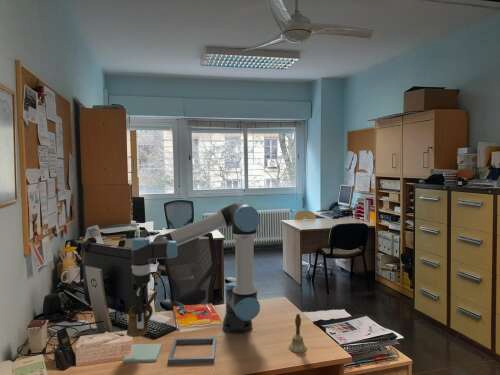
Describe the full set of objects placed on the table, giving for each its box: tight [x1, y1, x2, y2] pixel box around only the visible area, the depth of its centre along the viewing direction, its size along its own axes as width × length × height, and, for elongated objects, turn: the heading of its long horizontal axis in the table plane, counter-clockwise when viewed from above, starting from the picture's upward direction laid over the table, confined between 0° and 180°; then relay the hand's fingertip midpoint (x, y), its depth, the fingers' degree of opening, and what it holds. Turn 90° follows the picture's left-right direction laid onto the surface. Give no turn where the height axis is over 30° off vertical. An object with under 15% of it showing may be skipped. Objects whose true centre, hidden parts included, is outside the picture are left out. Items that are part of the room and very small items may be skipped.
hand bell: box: [288, 313, 307, 354], centre depth 176 cm, size 8×8×16 cm
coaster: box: [122, 343, 163, 363], centre depth 173 cm, size 14×14×1 cm
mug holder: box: [167, 337, 217, 365], centre depth 174 cm, size 19×19×2 cm
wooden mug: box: [126, 290, 158, 338], centre depth 172 cm, size 9×14×18 cm, turn 102°
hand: (142, 324), depth 172 cm, fingers closed on wooden mug, 7 cm apart
